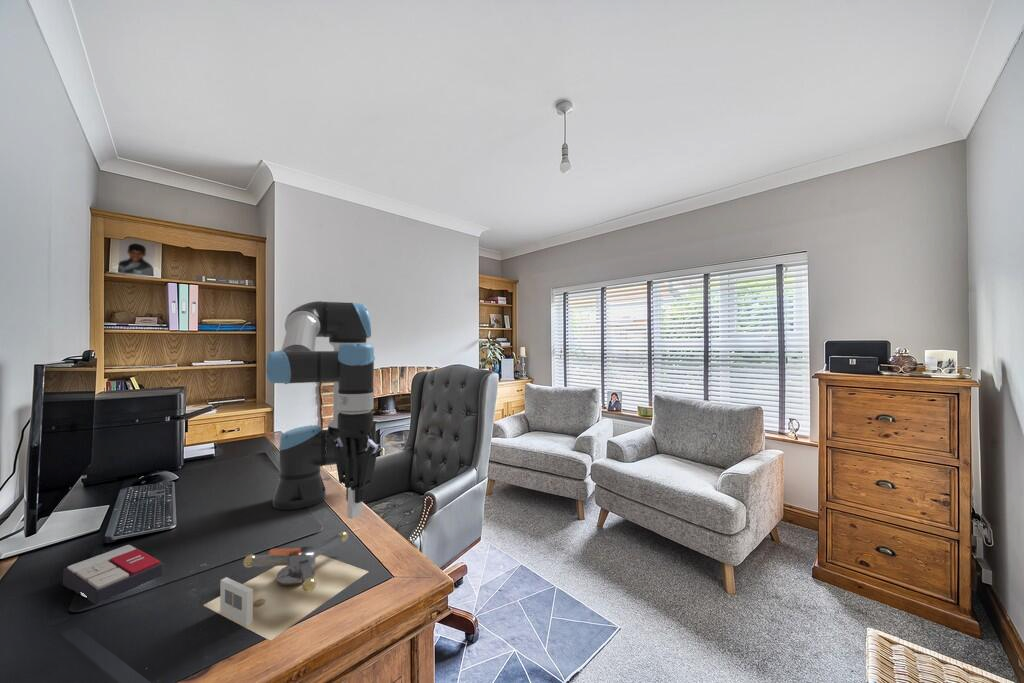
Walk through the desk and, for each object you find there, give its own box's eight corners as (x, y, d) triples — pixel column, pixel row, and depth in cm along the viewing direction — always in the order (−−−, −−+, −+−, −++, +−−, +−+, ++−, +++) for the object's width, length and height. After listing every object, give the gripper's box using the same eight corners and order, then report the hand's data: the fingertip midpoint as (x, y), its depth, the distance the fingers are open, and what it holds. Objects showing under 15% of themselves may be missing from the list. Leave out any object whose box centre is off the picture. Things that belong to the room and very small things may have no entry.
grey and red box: (95, 588, 76) (62, 565, 82) (94, 609, 76) (61, 585, 82) (164, 559, 86) (130, 541, 92) (163, 578, 86) (129, 558, 92)
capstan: (316, 539, 98) (316, 517, 98) (378, 560, 89) (379, 535, 89) (240, 579, 82) (241, 552, 82) (307, 609, 73) (308, 578, 73)
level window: (226, 608, 73) (226, 576, 73) (253, 622, 70) (253, 588, 70) (219, 612, 72) (219, 580, 72) (246, 626, 69) (246, 592, 69)
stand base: (306, 555, 94) (306, 548, 94) (368, 578, 86) (368, 569, 86) (202, 613, 74) (203, 603, 74) (270, 649, 66) (270, 638, 66)
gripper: (321, 411, 88) (320, 516, 87) (364, 416, 82) (363, 528, 82) (348, 406, 94) (347, 504, 94) (389, 411, 89) (388, 514, 89)
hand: (354, 515), depth 88 cm, fingers closed
